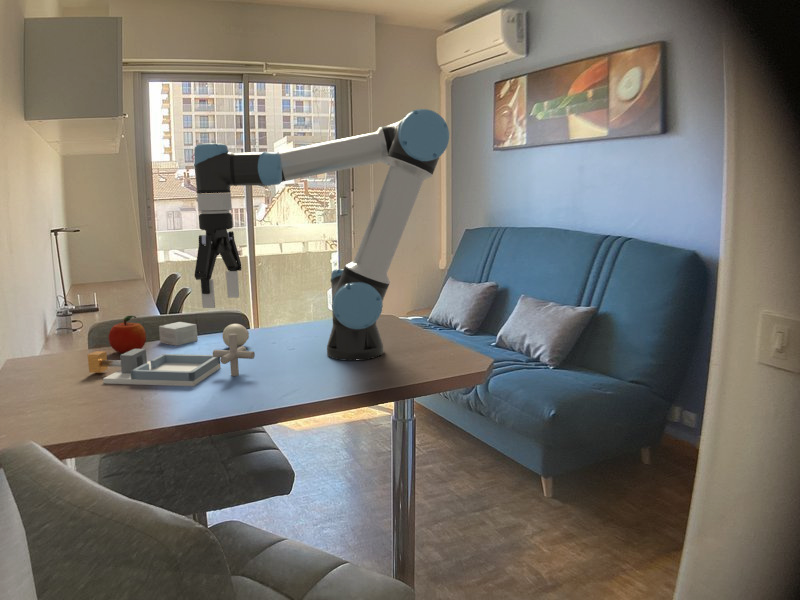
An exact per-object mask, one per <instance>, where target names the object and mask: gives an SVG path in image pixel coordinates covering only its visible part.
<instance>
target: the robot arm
mask: <svg viewBox="0 0 800 600" xmlns="http://www.w3.org/2000/svg"><path fill="white" fill-rule="evenodd" d="M449 142H450V130H449V126H448V124H447V122H446V120H445V119H444V118H443V117H442V116H441V115H440V114H439V113H437V112H436V111H434V110H431V109H427V108H424V109H423V108H421V109H420V108H418V109H414V110H412V111H410V112H408V113H407V114H406V115H404V116H403V118H402V119H401V120H399V121H397V122H394V123H391V124H388V125H384V126H380V127H378V129H377V130H376V131H374V132H369V133H365V134H360V135H355V136H350V137H344V138H340V139H333V140H328V141H325V142H319V143H314V144H309V145H305V146H299V147H294V148H289V149H284V150H280V151H274V152H270V151H259V152H257V151H255V152H254V151H253V152H251V151H250V152H229V149H228V146H227V144H225V143H200V144H196V146H195V147H194V150H193V151H194V153H193V154H194V164H193V166H194V175H195V176H194V177H195V185H196V186H195V187H196V196H197V198H196V199H195V201H196V202H197V211H199V212H200V213H199V214H198V226H199V229H200V230H201V231H205V234H199V236H198V249H197V256H196V261H195V262H196V263H195V269H194V278H195V280H196V281H200V290H201V291H200V293H201V304H202V305H201V306H202V308H203V309H215V308H216V300H215V298H216V297H215V285H214V279H212V275H213V271H214V267H215V264H216V260H217V258H218V256H219V255H220V256H221V258H222V262H223V263H224V265H225V267H226V269H227V271H225V277H226V278H225V281H226V290H227V291H226V294H227V298H236V299H237V298H240V289H239V287H240V286H239V276H238V274H239V273H238V271H242V262H241V258H240V255H239V252H238V249H237V243H236V241H235V233H234V231H233V230H232V229H233V227H234V223H233V214H232V213H231V212H230V211H232V210H233V206H232V195H231V194H232V193H231V187H232V186H234V187H237V186H238V187H239V186H247V187H248V186H249V187H250V186H254V187H256V186H258V187H267V186H268V187H269V186H274V185H275V186H276V185H281V183H284V182H287V181H291V180H293V181H294V180H297V179H302V178H308V177H313V176H318V175H322V174H328V173H332V172H338V171H342V170H348V169H354V168H358V167H363V166H368V165H369V166H370V165H373V164H378V163H379V164H380V163H383V164H385V166H386V165H387V166H389V168H388V171H387V174H386V176H385V178H384V182H383V184H382V187H381V189H380V192H379V195H378V198H377V200H376V201H375V204H374V206H373V210H372V212H371V215H370V218H369V220H368V223H367V226H366V228H365V230H364V233H363V236H362V238H361V241H360V244H359V246H358V248H357V250H356V251H357V252H356V254H355V257H354V259H353V260H352V261H351V262H349V263H346V264H345V265H344V267H343V269H341V268H339V269H333V270H332V271H331V278H330V282H331V283H330V284H331V310H332V312H331V313H332V328H331V332H330V334H329V338H328V342H327V345H326V354H327V356H328V357H329V356H330V357H329V358H331V357H333V358H332V359H334V358H337V359H336V360H339V359H345V360H344V361H357V360H356V359H366V360H369V359H368V358H372V357H376V356H378V357H380V356H379V355H381V354H382V353H383V354H384V343H383V340H382V337H381V334H380V332H379V328H378V326H377V321H378V320H379V318H380V316H381V314H382V313H383V304H384V303H383V301H384V298H385V296H386V293H387V291H388V288H389V285H390V283H391V282H390V280H389V279H390V278H389V277H388V271H389V270H390V266H391V264H392V262H393V258H394V256H395V253H396V252H397V249H398V246H399V244H400V241H401V238H402V236H403V233H404V231H405V228H406V226H407V223H408V221H409V218H410V216H411V213H412V210H413V208H414V206H415V202H416V201H417V198H418V195H419V193H420V191H421V188H422V185H423V183H424V181H425V180H426V179H429V178H431V177H433V175H434V173H435V170H436V167H437V164H438V162H439V160H440V157H441V156H442V155H443V154H444V153H445V151H446V150H447V148H448V144H449ZM383 354H382V355H383ZM382 355H381V356H382ZM376 358H377V357H376ZM372 359H373V358H372Z"/></svg>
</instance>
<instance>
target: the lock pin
mask: <svg viewBox="0 0 800 600" xmlns="http://www.w3.org/2000/svg"><path fill="white" fill-rule="evenodd" d="M87 362H88V363H87V364H88V371H89V372H88V373H97V374H98V373H99V374H101V373H102V372H105V371H106V370H108V369H109V367H110V368H121V359H119V360H118V359H114V360H113V359H108V357H107V352H106V351H101V350H100V351H97V350H96V351H93V352H91V353H88V354H87Z"/></svg>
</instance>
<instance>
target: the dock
mask: <svg viewBox="0 0 800 600" xmlns="http://www.w3.org/2000/svg"><path fill="white" fill-rule="evenodd" d="M119 356H120V359H119V360H121V367H120V369H119V370H117V371H115V372H113V373H111V374H109V375H107V376H106V377H103V378H102V381H103V384H108V385H109V384H111V385H138V386H139V385H143V386H147V385H149V386H170V387H171V386H172V387H174V386H176V387H178V386H179V387H194V386H196V385H198V384H199V383H200V382H203V380H206V378H208V377H209V376H211V375H212V374H213V373H215V372H217V371H218V370H219V369H221V367H222V366H221V361H220V360H221V357H213V354H186V353H185V354H179V353H178V354H175V353H173V354H172V353H162V354H161V355H158V356H156V357H154V358H153V359H151V360H147V349H146V348H142V349H133V350H130V351H128V352H126V353H124V354H122V353H121V354H120V355H119Z"/></svg>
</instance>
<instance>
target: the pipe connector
mask: <svg viewBox="0 0 800 600" xmlns="http://www.w3.org/2000/svg"><path fill="white" fill-rule="evenodd" d="M228 347H229V349H228V350H225V349H224V350H223V349H214V350H212V355H213V357H220V364H223V365H226V364H228V363H230V376H231V377H237V376H239V374H240V371H239V359H244V360H245V359H247V360H248V359H249V360H254V359H255V356H256V355H255V354H256V353H255V351H251V350H249V351H248V350H247V347H246V346H244V345H242V346H241V347H238V348H237V334H235V333H232V334H229V346H228Z"/></svg>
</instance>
